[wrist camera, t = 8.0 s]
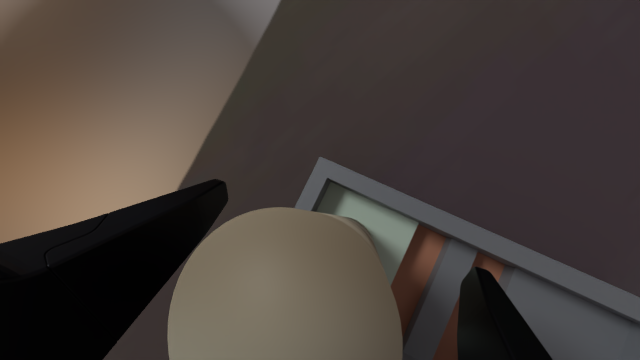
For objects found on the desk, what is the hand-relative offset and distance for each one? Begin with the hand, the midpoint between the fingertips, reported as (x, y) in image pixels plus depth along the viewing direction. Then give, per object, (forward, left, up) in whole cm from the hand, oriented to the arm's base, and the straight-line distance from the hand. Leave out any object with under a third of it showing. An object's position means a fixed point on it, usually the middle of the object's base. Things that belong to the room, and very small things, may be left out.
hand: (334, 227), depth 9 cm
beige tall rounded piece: (-1, 0, -7) cm, 7 cm away
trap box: (-1, -6, -9) cm, 11 cm away
